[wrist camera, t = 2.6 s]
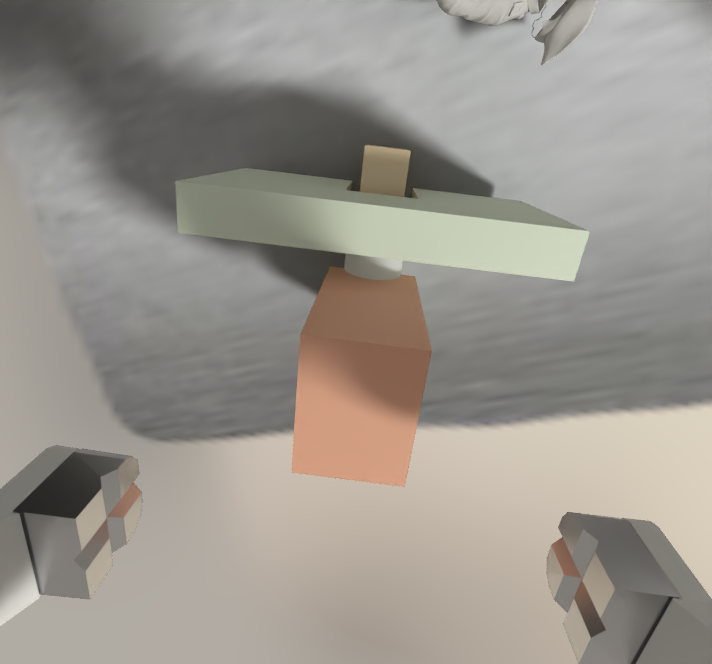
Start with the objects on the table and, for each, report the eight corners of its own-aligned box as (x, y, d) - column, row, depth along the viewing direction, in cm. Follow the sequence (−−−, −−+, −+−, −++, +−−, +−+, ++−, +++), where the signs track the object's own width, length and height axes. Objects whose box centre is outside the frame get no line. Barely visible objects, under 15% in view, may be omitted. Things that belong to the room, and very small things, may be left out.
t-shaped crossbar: (245, 167, 19) (89, 196, 9) (520, 201, 19) (674, 268, 9) (244, 307, 22) (123, 450, 12) (486, 337, 22) (575, 509, 12)
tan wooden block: (368, 144, 19) (364, 145, 15) (405, 149, 19) (410, 151, 15) (350, 312, 23) (342, 352, 18) (381, 316, 23) (380, 357, 18)
